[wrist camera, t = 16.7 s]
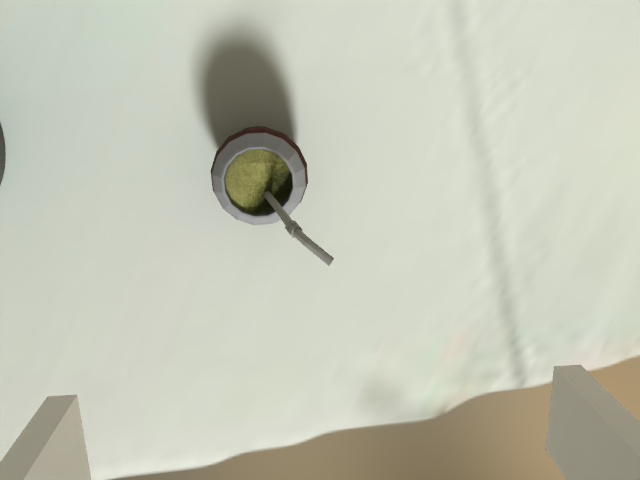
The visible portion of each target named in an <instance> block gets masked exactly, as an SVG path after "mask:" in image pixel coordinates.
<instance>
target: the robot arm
mask: <svg viewBox="0 0 640 480" xmlns="http://www.w3.org/2000/svg"><path fill="white" fill-rule="evenodd" d="M4 168H5V145H4V138H3V134H2V130H1V127H0V184H1V182H2V178H3V174H4ZM545 450H546V451H547V453H548V454H549V456H550V457H551V458H552V460H553V461H554V463H555V464H556V465H557V467H558V468H559V469H560V471H561V472H562V474H563V475H564V476H565V478H566V479H567V480H640V421H639V420H638V419H637V418H636V417H635V416H634V415H632V414H631V412H629V411H628V410H627V409H626V408H625V407H624V406H623V405H622V404H621V403H620V402H619V401H618V400H617V399H616V398H615V397H614V396H613V395H612V394H611V393H610V392H608V391H607V390H606V389H605V388H604V387H603V386H602V385H601V384H600V383H599V382H598V381H597V380H596V379H595V378H594V377H593V376H592V375H590V374H589V373H588V372H587V371H586V370H585V369H584V368H583V367H582V366H581V365H569V366H554V372H553V382H552V391H551V400H550V410H549V419H548V429H547V438H546V448H545ZM0 480H91V475H90V469H89V463H88V457H87V451H86V445H85V439H84V433H83V427H82V421H81V415H80V409H79V403H78V397H77V395H67V396H50V397H47V398H46V400H45V401H44V402H43V404H42V405H41V406H40V408H39V409H38V411H37V412H36V413H35V415H34V416H33V418H32V419H31V420H30V422H29V423H28V425H27V426H26V427H25V429H24V430H23V431H22V433H21V434H20V436H19V437H18V438H17V440H16V441H15V443H14V444H13V445H12V447H11V448H10V450H9V451H8V452H7V454H6V455H5V457H4V458H3V459H2V461H1V462H0Z"/></svg>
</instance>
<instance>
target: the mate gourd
mask: <svg viewBox="0 0 640 480" xmlns="http://www.w3.org/2000/svg"><path fill="white" fill-rule="evenodd" d="M211 177H212V186H213V191H214V193H215V195H216V197H217V199H218V200H219V202H220V204H221V206H222V208H223V209H224V210H226V211H227V212H228V213H229V214H231V215H232V216H233V217H234V218H235V219H237V220H240V221H243V222H246V223H249V224H252V225H262V224H273V223H275V222H277V221H279V220H281V219H282V221H283V222H284V224H285V225H286V227H285V228H286V229H287V231H288V232H289V233H290V235H291V236H292V237H296V238H297V239H298V240H299V241H300V242H301V243H302V244H303V245H304V246H305V247H307V248H308V249H309V250H310V251H311V252H313V253H314V254H315V255H316V256H317V257H319V258H320V259H321V260H322V261H324V262H325V263H326V264H327V265H330V264H331V262H332V261H333V259H334V258H333V257H332V256H330V255H329V254H328V253H327V252H325V251H324V250H323V249H322V248H320V247H319V246H318V245H317V244H316V243H314V242H313V241H312V240H311V239H310V238H308V237H307V236H306V235H305V234H304V233H303V232H302V229H301V228H300V226H299V225H298V224H297V223H296V222H295V221H292V220H291V218H290V217H289V215H290V213H291V212H292V211H293V210H294V209H295V208H296V207H297V206H298V204H299V203H300V202H301V200H302V198H303V195H304V192H305V189H306V187H307V184H308V177H307V163H306V161H305V159H304V157H303V155H302V153H301V151H300V149H299V147H298V146H297V145H296V144H295V143H294V142H293V141H292V140H291V139H289V138H288V137H287V136H286V135H285V134H283V133H281V132H278V131H275V130H272V129H269V128H266V127H252V128H246V129H244V130H242V131H240V132H238V133H236V134H234V135H232V136H230V137H229V138H228V139H227V140H226V141H225V142H224V143H223V145H222V146H221V147H220V148H219V149H218V150H217V152H216V155H215V159H214V162H213V165H212V168H211Z"/></svg>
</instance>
